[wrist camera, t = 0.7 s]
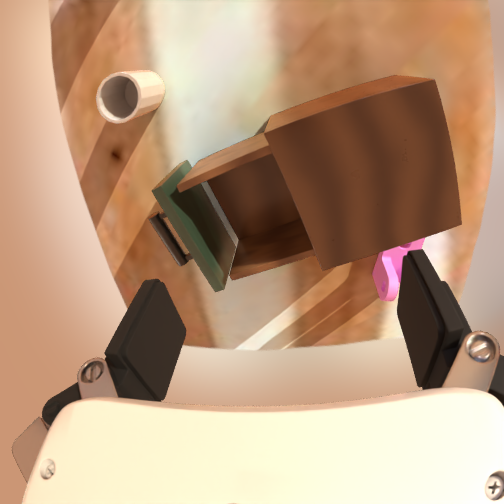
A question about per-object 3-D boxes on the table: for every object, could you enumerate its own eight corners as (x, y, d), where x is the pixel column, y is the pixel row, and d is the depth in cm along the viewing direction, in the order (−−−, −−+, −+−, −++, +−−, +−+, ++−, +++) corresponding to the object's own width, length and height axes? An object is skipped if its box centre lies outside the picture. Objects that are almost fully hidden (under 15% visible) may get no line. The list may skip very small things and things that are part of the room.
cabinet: (315, 221, 39) (322, 271, 30) (270, 115, 32) (263, 133, 23) (425, 185, 34) (462, 224, 25) (394, 74, 27) (435, 79, 18)
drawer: (202, 259, 43) (184, 300, 36) (152, 177, 37) (120, 207, 30) (331, 215, 37) (341, 254, 30) (291, 114, 31) (292, 127, 24)
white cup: (117, 85, 31) (88, 91, 26) (152, 61, 29) (127, 62, 24) (136, 121, 34) (110, 132, 28) (172, 99, 32) (150, 106, 26)
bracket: (404, 277, 42) (417, 308, 36) (372, 273, 42) (382, 306, 37) (432, 199, 35) (454, 224, 29) (396, 192, 35) (415, 217, 29)
